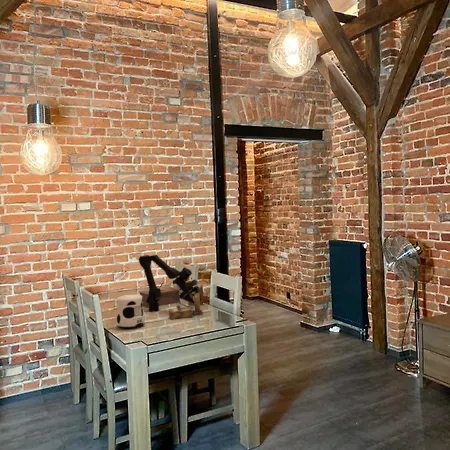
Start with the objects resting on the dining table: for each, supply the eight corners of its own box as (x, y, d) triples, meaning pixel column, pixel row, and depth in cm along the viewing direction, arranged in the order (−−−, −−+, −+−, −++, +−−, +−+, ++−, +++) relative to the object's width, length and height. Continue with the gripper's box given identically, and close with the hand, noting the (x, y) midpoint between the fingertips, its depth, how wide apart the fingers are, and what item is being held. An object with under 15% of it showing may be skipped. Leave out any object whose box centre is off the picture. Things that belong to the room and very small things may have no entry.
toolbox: (170, 319, 285) (170, 313, 284) (168, 316, 294) (168, 309, 294) (204, 316, 290) (203, 309, 290) (201, 312, 300) (200, 306, 299)
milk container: (120, 322, 282) (119, 294, 282) (148, 321, 282) (146, 293, 281) (113, 330, 265) (111, 300, 264) (142, 329, 265) (140, 299, 264)
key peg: (195, 315, 294) (194, 294, 293) (194, 313, 297) (193, 293, 297) (200, 314, 295) (199, 293, 294) (199, 313, 298) (198, 292, 298)
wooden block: (203, 305, 323) (202, 280, 322) (189, 306, 320) (187, 281, 319) (202, 303, 326) (201, 279, 325) (188, 305, 324) (187, 280, 323)
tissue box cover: (171, 299, 347) (171, 287, 346) (179, 302, 334) (179, 289, 334) (140, 304, 333) (139, 291, 333) (147, 308, 321) (147, 294, 320)
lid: (170, 312, 284) (170, 307, 284) (168, 310, 292) (168, 305, 292) (196, 310, 289) (195, 305, 288) (193, 307, 296) (193, 302, 296)
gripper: (182, 278, 289) (198, 296, 284) (196, 274, 305) (211, 290, 301) (172, 290, 292) (188, 307, 288) (186, 285, 309) (201, 301, 305)
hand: (197, 301), depth 295 cm, fingers open, 9 cm apart
